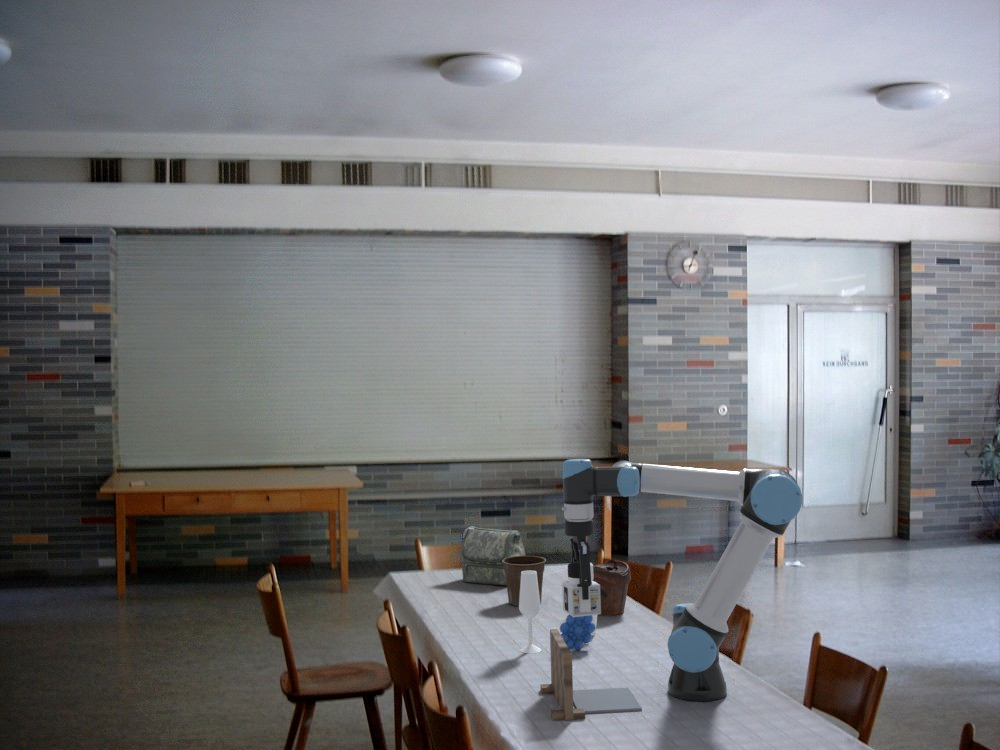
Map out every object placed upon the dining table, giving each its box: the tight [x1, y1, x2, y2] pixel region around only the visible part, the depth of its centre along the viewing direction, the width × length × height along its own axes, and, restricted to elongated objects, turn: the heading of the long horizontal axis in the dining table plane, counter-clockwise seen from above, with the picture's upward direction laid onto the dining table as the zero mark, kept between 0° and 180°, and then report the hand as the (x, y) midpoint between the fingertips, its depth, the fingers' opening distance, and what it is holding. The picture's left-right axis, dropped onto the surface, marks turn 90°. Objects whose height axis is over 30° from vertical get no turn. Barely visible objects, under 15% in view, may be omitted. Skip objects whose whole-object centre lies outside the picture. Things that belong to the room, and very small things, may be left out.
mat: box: [573, 687, 643, 714], centre depth 251 cm, size 16×16×1 cm
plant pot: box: [502, 555, 547, 608], centre depth 360 cm, size 16×16×16 cm
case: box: [592, 559, 632, 617], centre depth 345 cm, size 18×20×18 cm
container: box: [561, 561, 601, 617], centre depth 250 cm, size 8×8×13 cm
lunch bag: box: [458, 525, 527, 587], centre depth 400 cm, size 26×18×22 cm
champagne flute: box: [518, 570, 542, 654], centre depth 299 cm, size 7×7×24 cm
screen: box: [539, 628, 586, 721], centre depth 250 cm, size 24×8×16 cm, turn 5°
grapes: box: [559, 614, 597, 651], centre depth 299 cm, size 12×7×12 cm, turn 103°
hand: (582, 607), depth 250 cm, fingers closed on container, 8 cm apart
